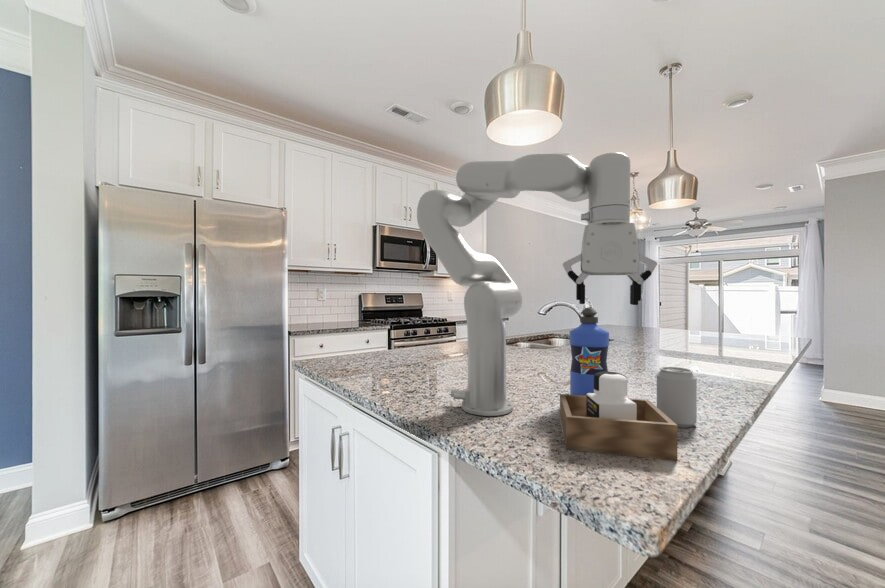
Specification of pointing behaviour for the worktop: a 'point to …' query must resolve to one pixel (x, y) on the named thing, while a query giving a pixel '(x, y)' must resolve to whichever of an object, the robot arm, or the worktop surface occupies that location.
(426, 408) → the worktop surface
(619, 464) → the worktop surface
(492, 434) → the worktop surface
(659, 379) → the can
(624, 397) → the medicine bottle
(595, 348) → the water bottle
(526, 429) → the worktop surface
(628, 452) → the crate
